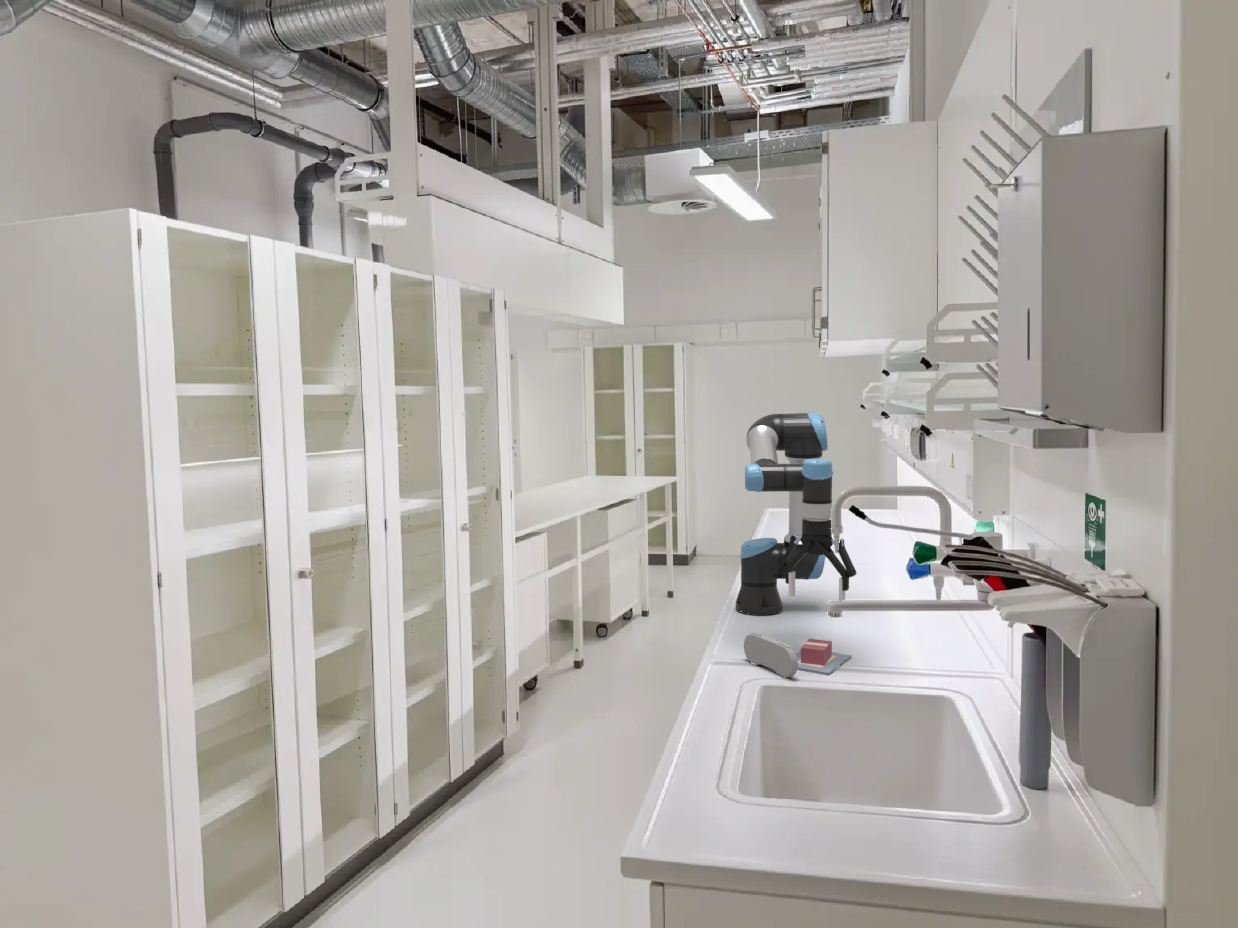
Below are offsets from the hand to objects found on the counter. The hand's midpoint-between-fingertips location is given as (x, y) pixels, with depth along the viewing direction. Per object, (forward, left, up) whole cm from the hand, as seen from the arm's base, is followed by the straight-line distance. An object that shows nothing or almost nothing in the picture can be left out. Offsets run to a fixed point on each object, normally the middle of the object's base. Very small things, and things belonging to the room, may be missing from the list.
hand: (816, 599), depth 216 cm
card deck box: (0, 0, -16) cm, 16 cm away
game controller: (+12, -8, -17) cm, 22 cm away
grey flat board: (0, 0, -17) cm, 17 cm away
